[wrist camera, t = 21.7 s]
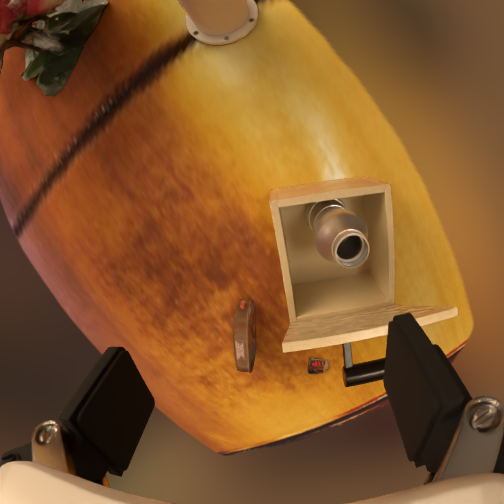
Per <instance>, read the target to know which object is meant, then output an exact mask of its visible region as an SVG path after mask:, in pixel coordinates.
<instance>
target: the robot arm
mask: <svg viewBox="0 0 504 504" xmlns="http://www.w3.org/2000/svg"><path fill="white" fill-rule="evenodd" d="M177 1H178V2H179V4H180V5H181V6H182V8H183V9H184V10H185V12H186V13H187V14H186V19H185V20H186V26H187V29H188V31H189V32H190V34H191V35H192V36H193V37H194V38H195V39H197V40H198V41H200V42H202V43H206V44H210V45H224V44H229V43H232V42H235V41H238V40H240V39H242V38H243V37H245V36H246V35H247V34H249V33H250V32H251V31H252V30H253V28H254V27H255V25H256V23H257V20H258V8H257V5H256V3H255V1H254V0H177ZM251 21H253V22H251ZM197 34H198V35H197ZM226 39H228V40H226ZM383 381H384V387H385V390H386V393H387V395H388V398H389V401H390V404H391V407H392V409H393V413H394V416H395V418H396V421H397V425H398V427H399V431H400V434H401V437H402V440H403V443H404V446H405V450H406V453H407V456H408V459H409V461H414V462H415V466H416V468H417V467H420V466H423V465H426V468H427V471H429V472H430V473H429V475H428V477H427V479H426V481H425V482H424V484H423V485H422V486H418V487H415V488H411V489H407V490H404V491H400V492H396V493H392V494H389V495H384V496H380V497H376V498H372V499H367V500H362V501H357V502H351V503H345V504H504V405H503V404H502V403H501V401H499V400H498V399H496V398H494V397H491V396H480V397H476V398H475V399H472V397H471V396H470V394H469V392H468V391H467V389H466V387H465V386H464V384H463V383H462V381H461V379H460V378H459V376H458V374H457V373H456V371H455V369H454V368H453V366H452V365H451V363H450V362H449V360H448V359H447V357H446V356H445V354H444V352H443V351H442V350H441V348H440V347H439V346H438V345H436V344H434V345H433V344H432V343H431V341H430V340H429V338H428V337H427V335H426V334H425V332H424V331H423V329H422V328H421V327H420V325H419V324H418V322H417V321H416V319H415V318H414V316H413V315H412V314H411V313H410V312H408V313H404V314H400V315H395V316H394V317H393V321H389V323H388V335H387V348H386V359H385V369H384V377H383ZM154 405H155V401H154V398H153V396H152V394H151V393H150V391H149V389H148V387H147V386H146V384H145V382H144V380H143V378H142V377H141V375H140V373H139V371H138V369H137V367H136V365H135V363H134V361H133V360H132V358H131V356H130V354H129V352H128V351H126V350H125V349H124V348H123V347H109V348H108V349H107V350H106V351H105V352H104V354H103V355H102V357H101V358H100V359H99V360H98V362H97V363H96V364H95V366H94V367H93V369H92V370H91V371H90V373H89V374H88V375H87V377H86V378H85V379H84V381H83V382H82V383H81V385H80V386H79V388H78V389H77V390H76V392H75V393H74V395H73V396H72V398H71V399H70V400H69V402H68V403H67V405H66V406H65V408H64V409H63V410H62V412H61V413H60V415H59V416H58V418H59V420H60V421H61V422H62V425H61V426H60V425H59V424H58V423H57V422H56V421H54V420H47V421H44V422H42V423H40V424H39V425H38V426H37V427H36V428H35V429H34V431H33V433H32V442H30V443H28V444H25V445H23V446H20V447H17V448H15V449H12V450H10V451H8V452H6V453H4V454H3V456H2V457H1V461H0V504H175V503H169V502H164V501H159V500H154V499H150V498H145V497H141V496H137V495H133V494H129V493H126V492H122V491H119V490H115V489H112V488H110V485H109V482H108V479H107V476H106V472H107V471H108V472H109V473H110V474H113V475H117V476H122V474H123V471H125V470H127V468H128V466H129V464H130V461H131V459H132V457H133V454H134V452H135V450H136V447H137V445H138V443H139V440H140V438H141V436H142V433H143V431H144V429H145V426H146V424H147V422H148V419H149V417H150V415H151V413H152V411H153V408H154Z"/></svg>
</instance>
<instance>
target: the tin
mask: <svg viewBox="0 0 504 504" xmlns="http://www.w3.org/2000/svg"><path fill="white" fill-rule="evenodd" d="M233 339H234V351H235V361H236V368H237V370H238V371H242V372H250V373H251V372H252V370H253V366H254V360H255V352H256V329H255V306H254V301H253V300H251V301H249V300H240V301H239V302H238V305H237V308H236V310H235V313H234V320H233Z"/></svg>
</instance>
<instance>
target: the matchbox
mask: <svg viewBox="0 0 504 504" xmlns="http://www.w3.org/2000/svg"><path fill="white" fill-rule="evenodd" d="M313 358H314V357H311V359H312V360H310V361H309V366H308V373H309V374H318V373H323V372H324V369H325V370H327V369H328V368H329V363H327V364H326V362H327V360H318V359H317V360H314V359H313Z"/></svg>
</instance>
